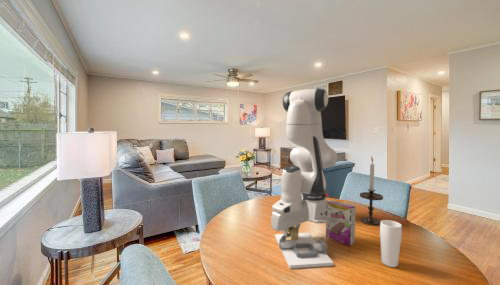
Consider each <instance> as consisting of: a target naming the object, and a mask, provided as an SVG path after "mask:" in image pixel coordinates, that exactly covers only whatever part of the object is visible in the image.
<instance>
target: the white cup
mask: <svg viewBox="0 0 500 285" xmlns="http://www.w3.org/2000/svg"><path fill="white" fill-rule="evenodd" d="M379 238H380V239H379V240H380V242H379V243H380V261H381V263H382V264H383V265H385V266H386V267H390V268H396V267H397V266H398V265H399V258H400V250H401V243H402V238H403V225H402V224H401V223H399V221H395V220H389V219H381V221H380V225H379Z"/></svg>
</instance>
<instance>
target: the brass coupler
mask: <svg viewBox="0 0 500 285" xmlns="http://www.w3.org/2000/svg"><path fill="white" fill-rule="evenodd" d="M299 229H300V227H299V228H297V227H295V226H292V227H289V228H287V233H289V237H287V238H286V240H295V241H296V240H298V233H299V232H300V231H299Z"/></svg>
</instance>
